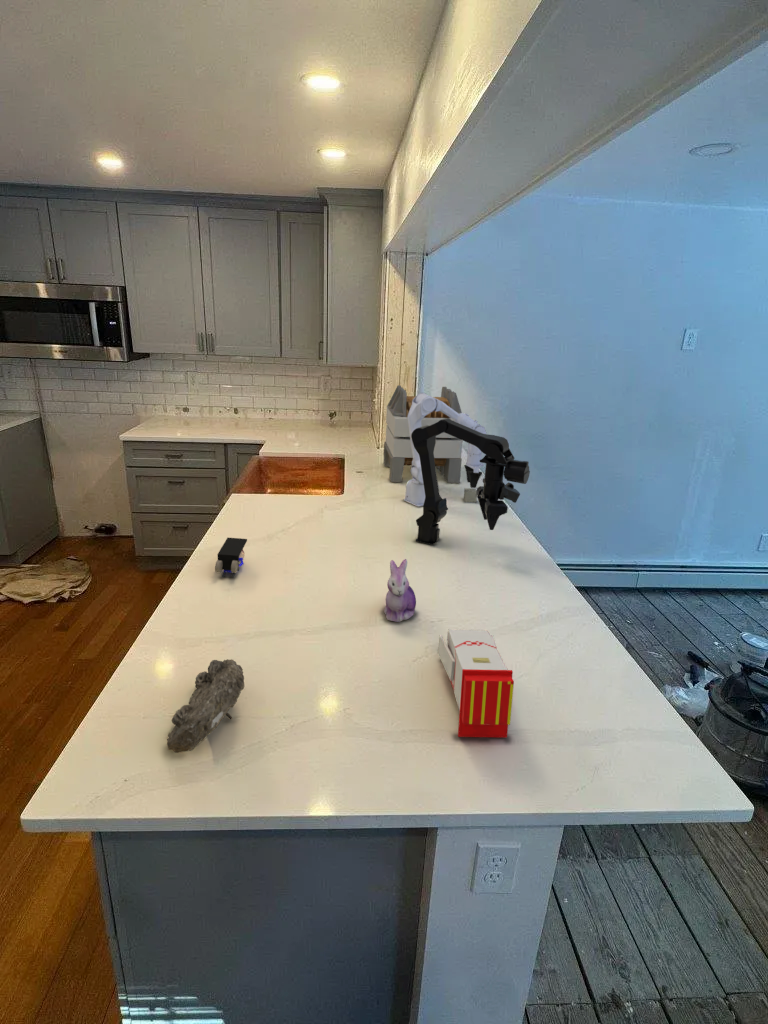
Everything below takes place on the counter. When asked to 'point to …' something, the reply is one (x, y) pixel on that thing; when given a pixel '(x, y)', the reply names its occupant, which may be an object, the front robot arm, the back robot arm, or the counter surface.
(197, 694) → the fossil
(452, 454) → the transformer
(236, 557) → the black wheeled box
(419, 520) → the front robot arm
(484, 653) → the toy
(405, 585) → the figurine
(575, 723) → the counter surface
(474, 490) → the block
